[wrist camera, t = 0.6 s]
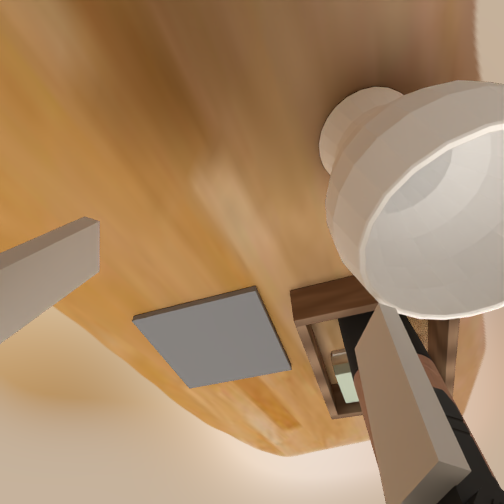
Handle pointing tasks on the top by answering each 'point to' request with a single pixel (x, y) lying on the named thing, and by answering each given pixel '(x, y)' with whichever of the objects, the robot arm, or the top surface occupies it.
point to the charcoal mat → (216, 338)
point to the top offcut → (346, 382)
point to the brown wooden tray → (351, 303)
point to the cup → (420, 196)
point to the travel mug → (351, 335)
